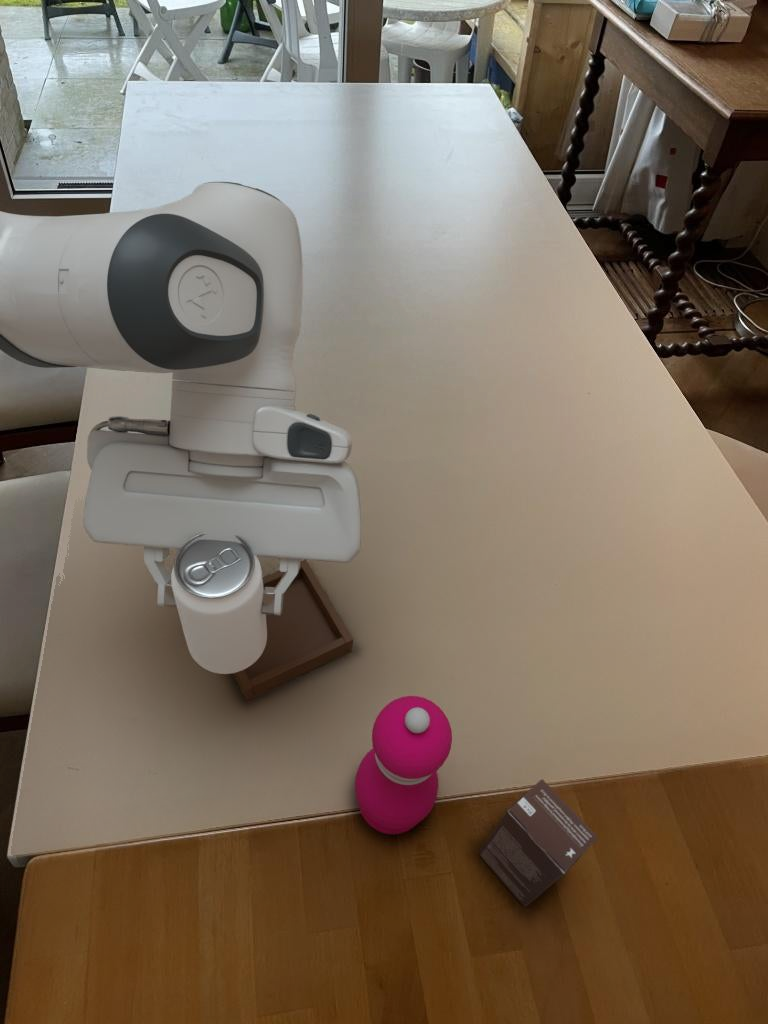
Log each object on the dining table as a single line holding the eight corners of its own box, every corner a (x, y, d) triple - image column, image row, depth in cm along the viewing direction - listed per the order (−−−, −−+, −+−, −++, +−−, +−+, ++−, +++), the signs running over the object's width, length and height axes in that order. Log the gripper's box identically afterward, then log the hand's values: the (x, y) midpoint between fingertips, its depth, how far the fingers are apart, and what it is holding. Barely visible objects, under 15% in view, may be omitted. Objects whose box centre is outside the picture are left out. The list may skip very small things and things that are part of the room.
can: (173, 633, 65) (150, 554, 55) (239, 592, 68) (228, 510, 58) (215, 691, 62) (199, 620, 52) (283, 647, 65) (279, 571, 55)
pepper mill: (445, 816, 71) (489, 737, 55) (376, 856, 68) (400, 785, 52) (406, 746, 74) (435, 652, 58) (338, 781, 72) (349, 694, 56)
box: (558, 872, 69) (601, 837, 59) (523, 909, 67) (562, 879, 57) (509, 817, 71) (542, 775, 62) (474, 851, 69) (503, 813, 60)
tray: (246, 700, 76) (245, 690, 74) (204, 614, 81) (201, 602, 79) (352, 650, 80) (353, 639, 78) (305, 571, 85) (305, 559, 83)
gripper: (72, 414, 54) (66, 609, 56) (370, 441, 54) (353, 632, 57) (102, 412, 60) (96, 587, 62) (369, 435, 61) (354, 608, 63)
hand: (221, 609), depth 59 cm, fingers closed on can, 6 cm apart
